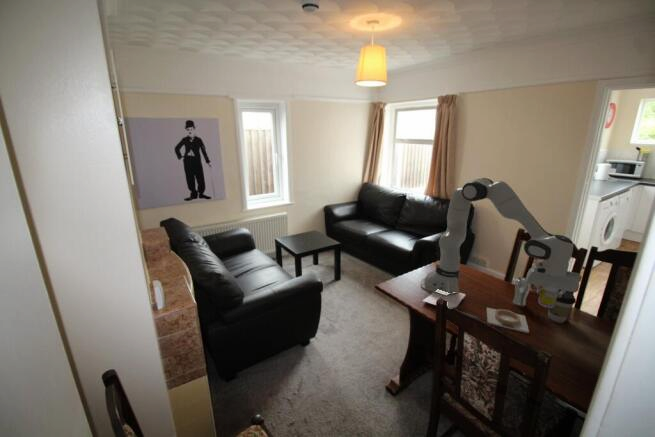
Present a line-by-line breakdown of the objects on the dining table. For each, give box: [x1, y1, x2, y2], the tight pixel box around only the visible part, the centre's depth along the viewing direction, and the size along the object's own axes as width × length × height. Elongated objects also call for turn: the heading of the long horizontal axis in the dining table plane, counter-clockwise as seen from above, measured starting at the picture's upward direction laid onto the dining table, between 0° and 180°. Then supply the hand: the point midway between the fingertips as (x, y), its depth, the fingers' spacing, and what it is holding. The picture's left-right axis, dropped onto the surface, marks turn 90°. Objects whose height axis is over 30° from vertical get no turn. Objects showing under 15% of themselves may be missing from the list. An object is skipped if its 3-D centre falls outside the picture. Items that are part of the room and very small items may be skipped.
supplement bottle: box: [537, 282, 559, 308], centre depth 144 cm, size 7×7×13 cm
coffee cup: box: [547, 289, 577, 324], centre depth 155 cm, size 11×11×15 cm
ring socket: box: [486, 307, 530, 334], centre depth 155 cm, size 18×14×3 cm
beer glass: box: [512, 276, 532, 307], centre depth 168 cm, size 7×7×15 cm
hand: (548, 294), depth 144 cm, fingers closed on supplement bottle, 7 cm apart
